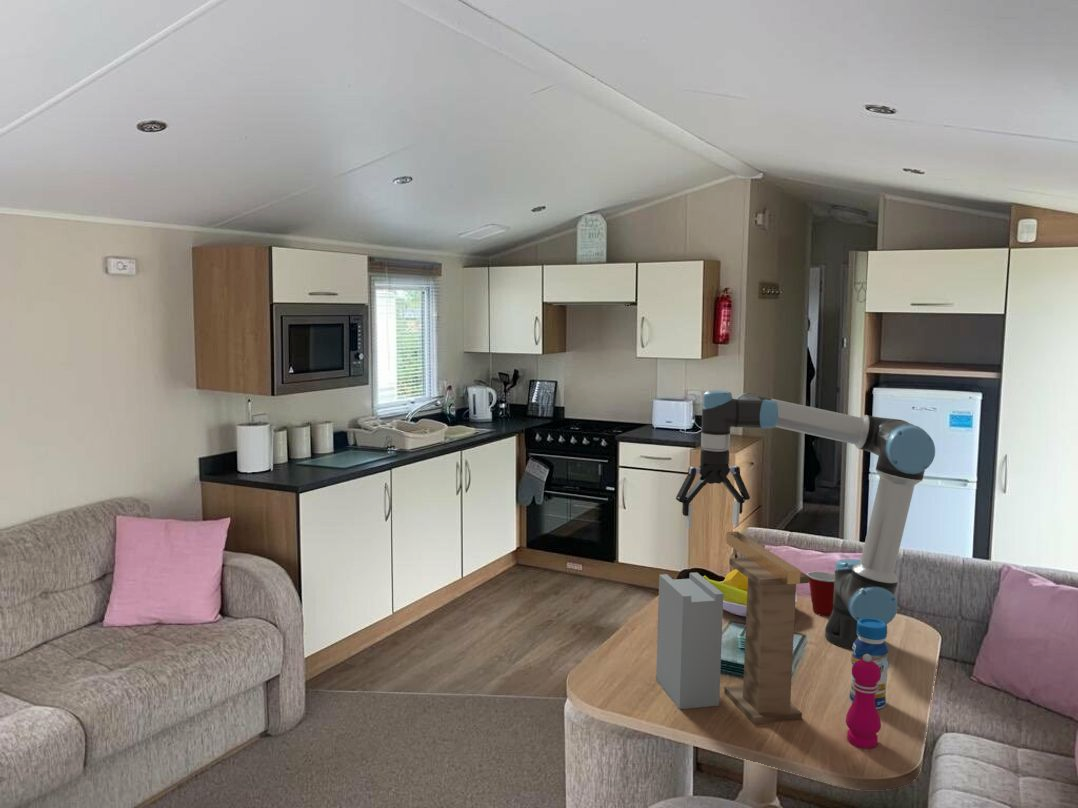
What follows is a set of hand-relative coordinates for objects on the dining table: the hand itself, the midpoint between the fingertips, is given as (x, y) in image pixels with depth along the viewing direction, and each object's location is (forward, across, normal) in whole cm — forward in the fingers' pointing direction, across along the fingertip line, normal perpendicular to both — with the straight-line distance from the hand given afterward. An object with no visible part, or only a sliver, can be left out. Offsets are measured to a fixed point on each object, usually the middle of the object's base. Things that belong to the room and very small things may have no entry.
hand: (711, 526), depth 235 cm
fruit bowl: (+35, -25, -26) cm, 51 cm away
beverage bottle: (+35, -26, +36) cm, 57 cm away
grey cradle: (+35, +15, +23) cm, 44 cm away
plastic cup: (+35, -47, -21) cm, 62 cm away
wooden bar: (+1, 0, +29) cm, 29 cm away
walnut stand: (+35, 0, +33) cm, 48 cm away
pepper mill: (+35, -14, +53) cm, 65 cm away
